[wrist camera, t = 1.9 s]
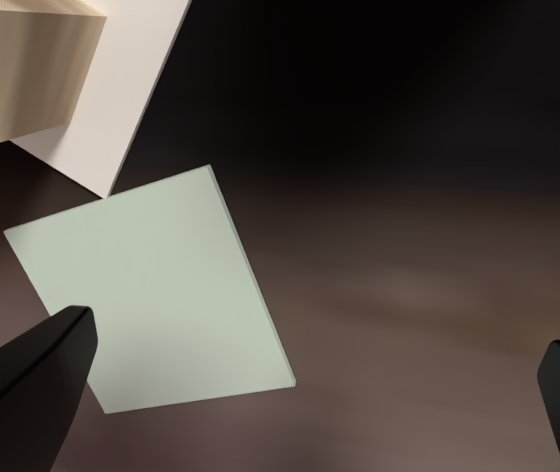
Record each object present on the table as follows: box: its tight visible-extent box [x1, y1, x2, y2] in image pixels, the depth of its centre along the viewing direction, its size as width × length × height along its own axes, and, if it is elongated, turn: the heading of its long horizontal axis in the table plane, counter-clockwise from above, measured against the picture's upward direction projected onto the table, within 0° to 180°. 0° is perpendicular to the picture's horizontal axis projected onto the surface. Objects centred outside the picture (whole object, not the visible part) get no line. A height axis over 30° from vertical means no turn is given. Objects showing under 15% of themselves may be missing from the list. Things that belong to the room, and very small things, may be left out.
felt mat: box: [3, 164, 296, 414], centre depth 25 cm, size 12×12×1 cm
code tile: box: [10, 0, 192, 199], centre depth 21 cm, size 10×10×1 cm
